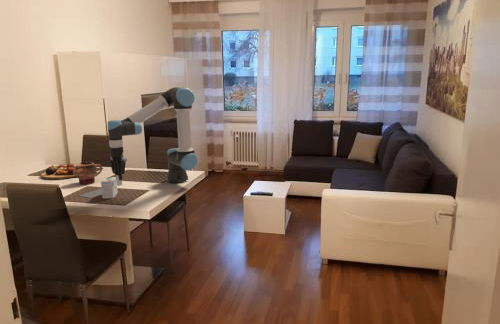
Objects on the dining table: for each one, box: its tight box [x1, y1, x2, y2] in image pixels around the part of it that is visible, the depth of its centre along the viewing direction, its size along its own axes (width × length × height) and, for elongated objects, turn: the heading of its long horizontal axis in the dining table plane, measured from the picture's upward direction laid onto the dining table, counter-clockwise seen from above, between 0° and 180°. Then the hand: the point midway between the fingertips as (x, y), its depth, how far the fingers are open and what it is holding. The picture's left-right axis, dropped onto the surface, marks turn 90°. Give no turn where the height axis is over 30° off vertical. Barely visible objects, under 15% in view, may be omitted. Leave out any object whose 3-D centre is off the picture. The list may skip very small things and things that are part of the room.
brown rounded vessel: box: [73, 161, 103, 185], centre depth 265 cm, size 20×12×14 cm, turn 138°
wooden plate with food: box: [40, 163, 78, 180], centre depth 289 cm, size 32×32×8 cm
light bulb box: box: [100, 176, 119, 199], centre depth 234 cm, size 11×7×11 cm, turn 5°
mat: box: [78, 188, 102, 199], centre depth 241 cm, size 11×18×1 cm, turn 152°
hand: (119, 185), depth 229 cm, fingers closed
